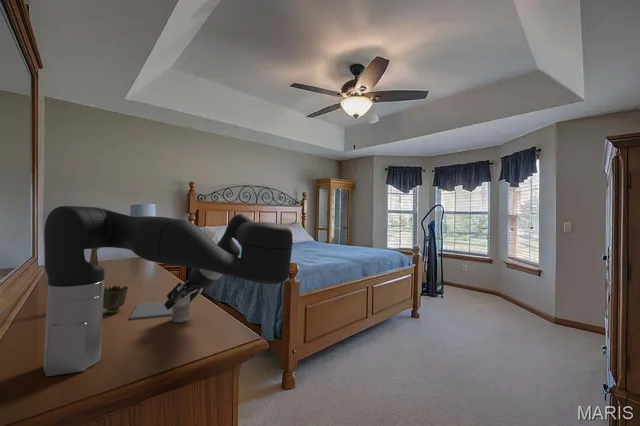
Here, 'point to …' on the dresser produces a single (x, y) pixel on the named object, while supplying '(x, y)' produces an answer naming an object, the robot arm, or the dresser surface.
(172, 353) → the dresser surface
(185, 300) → the cream peg
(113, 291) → the cup
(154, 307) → the slate mat
